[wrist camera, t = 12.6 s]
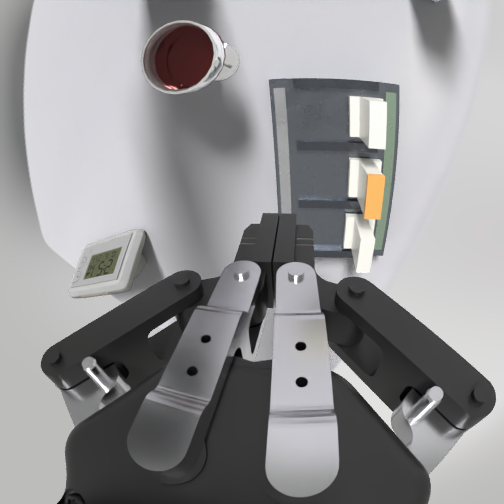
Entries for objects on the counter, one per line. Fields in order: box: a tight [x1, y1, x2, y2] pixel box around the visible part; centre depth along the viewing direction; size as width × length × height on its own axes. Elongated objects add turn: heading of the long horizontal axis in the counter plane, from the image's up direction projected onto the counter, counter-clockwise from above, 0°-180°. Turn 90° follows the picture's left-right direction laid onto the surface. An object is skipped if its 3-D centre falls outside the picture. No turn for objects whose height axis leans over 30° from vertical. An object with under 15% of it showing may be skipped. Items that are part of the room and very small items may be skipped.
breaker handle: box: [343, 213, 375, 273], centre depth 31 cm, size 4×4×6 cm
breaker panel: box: [269, 78, 399, 258], centre depth 31 cm, size 14×22×4 cm, turn 5°
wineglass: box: [141, 20, 239, 94], centre depth 22 cm, size 7×7×12 cm
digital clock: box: [69, 229, 147, 298], centre depth 43 cm, size 16×9×11 cm, turn 98°
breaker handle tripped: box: [347, 157, 385, 220], centre depth 27 cm, size 4×4×6 cm
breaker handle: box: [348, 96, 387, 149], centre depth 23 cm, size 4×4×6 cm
